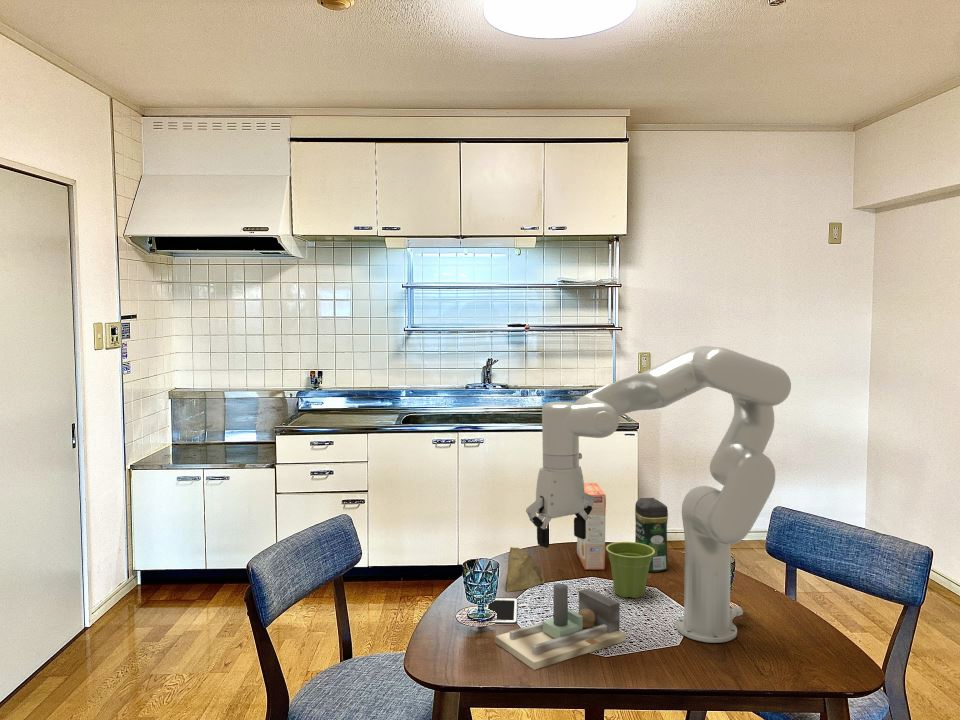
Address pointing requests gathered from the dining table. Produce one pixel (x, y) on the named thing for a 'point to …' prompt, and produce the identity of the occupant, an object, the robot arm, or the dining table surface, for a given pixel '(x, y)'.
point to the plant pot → (630, 567)
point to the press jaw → (562, 615)
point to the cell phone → (504, 610)
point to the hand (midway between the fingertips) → (561, 541)
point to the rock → (522, 571)
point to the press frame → (547, 650)
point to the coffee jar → (652, 530)
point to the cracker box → (594, 531)
